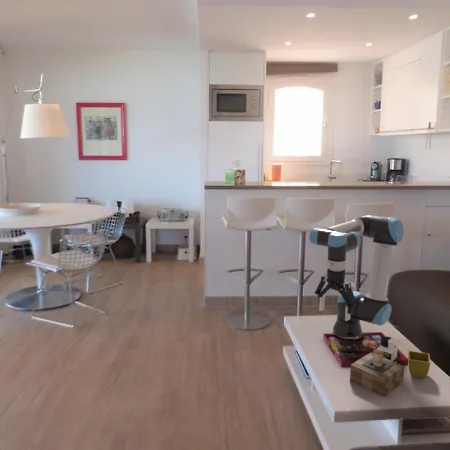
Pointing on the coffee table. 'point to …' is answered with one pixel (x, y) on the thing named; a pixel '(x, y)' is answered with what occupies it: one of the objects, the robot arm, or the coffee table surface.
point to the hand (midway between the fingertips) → (334, 315)
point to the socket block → (377, 375)
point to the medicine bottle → (388, 348)
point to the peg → (378, 358)
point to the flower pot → (418, 363)
